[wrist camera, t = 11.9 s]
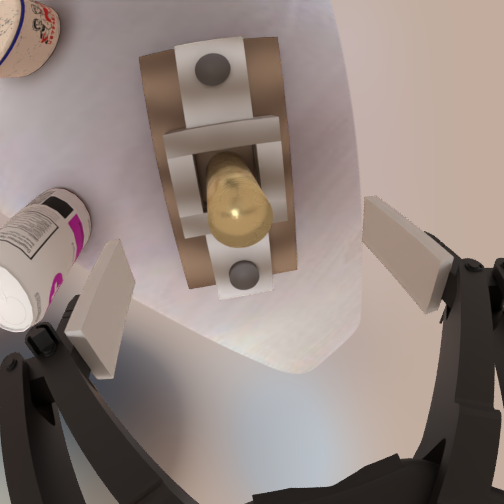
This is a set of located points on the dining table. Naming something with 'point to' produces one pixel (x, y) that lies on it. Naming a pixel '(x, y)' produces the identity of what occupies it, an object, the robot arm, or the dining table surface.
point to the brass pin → (235, 202)
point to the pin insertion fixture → (222, 140)
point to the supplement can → (39, 255)
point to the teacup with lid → (26, 36)
